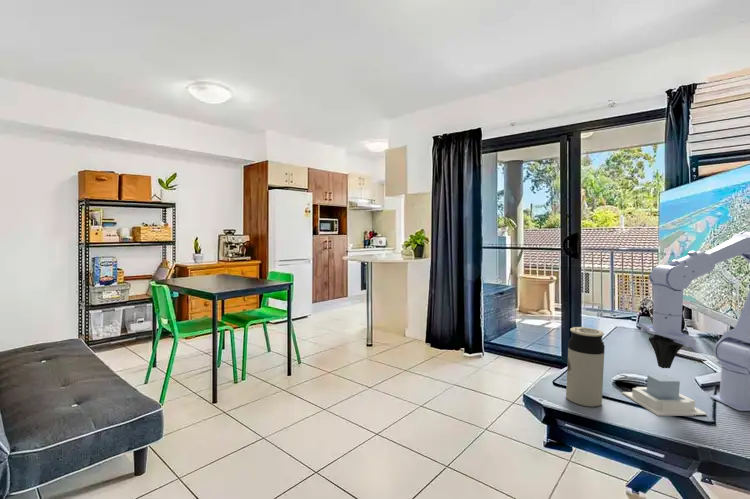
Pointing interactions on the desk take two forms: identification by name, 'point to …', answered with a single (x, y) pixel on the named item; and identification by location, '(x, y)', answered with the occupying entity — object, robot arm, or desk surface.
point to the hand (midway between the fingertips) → (664, 367)
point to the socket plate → (664, 404)
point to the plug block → (663, 387)
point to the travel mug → (585, 366)
